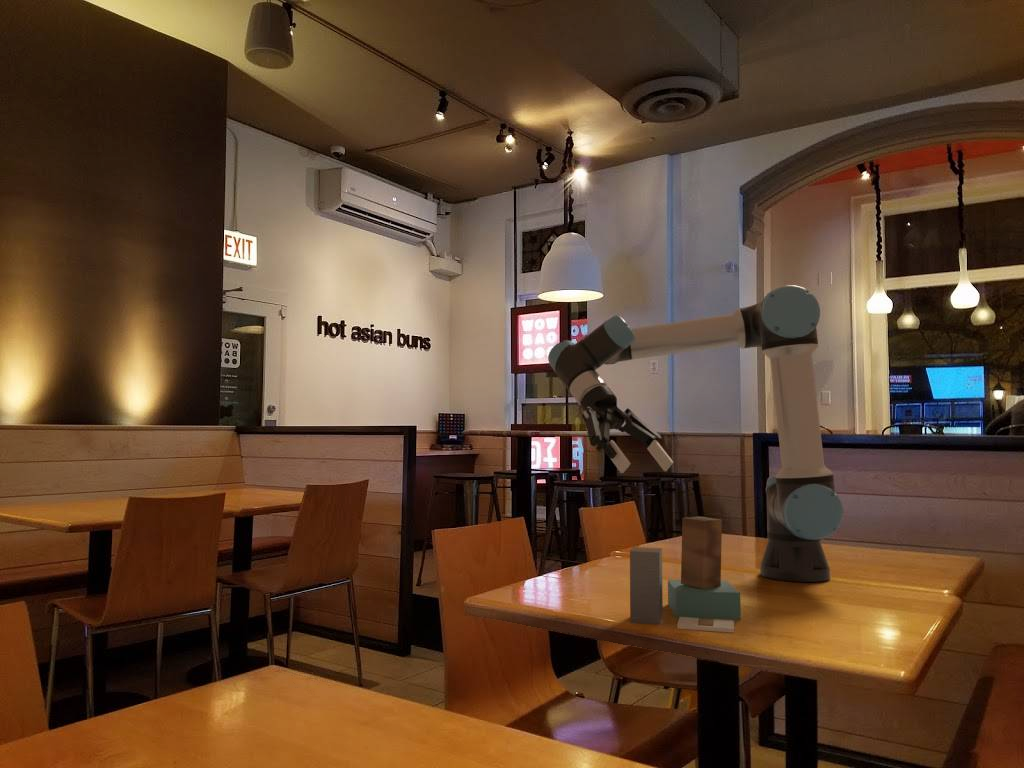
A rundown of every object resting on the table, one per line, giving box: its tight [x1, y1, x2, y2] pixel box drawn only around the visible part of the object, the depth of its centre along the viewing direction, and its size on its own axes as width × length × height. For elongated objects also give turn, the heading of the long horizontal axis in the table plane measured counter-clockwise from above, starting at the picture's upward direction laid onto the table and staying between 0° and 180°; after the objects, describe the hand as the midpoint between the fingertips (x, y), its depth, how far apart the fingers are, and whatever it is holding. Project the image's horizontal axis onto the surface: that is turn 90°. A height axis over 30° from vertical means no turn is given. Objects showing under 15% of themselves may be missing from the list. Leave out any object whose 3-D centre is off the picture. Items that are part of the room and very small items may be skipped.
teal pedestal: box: [667, 579, 742, 621], centre depth 137 cm, size 11×11×5 cm
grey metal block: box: [629, 546, 664, 625], centre depth 130 cm, size 5×5×12 cm
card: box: [676, 617, 735, 634], centre depth 126 cm, size 9×6×1 cm, turn 74°
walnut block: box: [680, 516, 723, 589], centre depth 137 cm, size 5×5×12 cm
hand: (648, 467), depth 153 cm, fingers open, 13 cm apart
